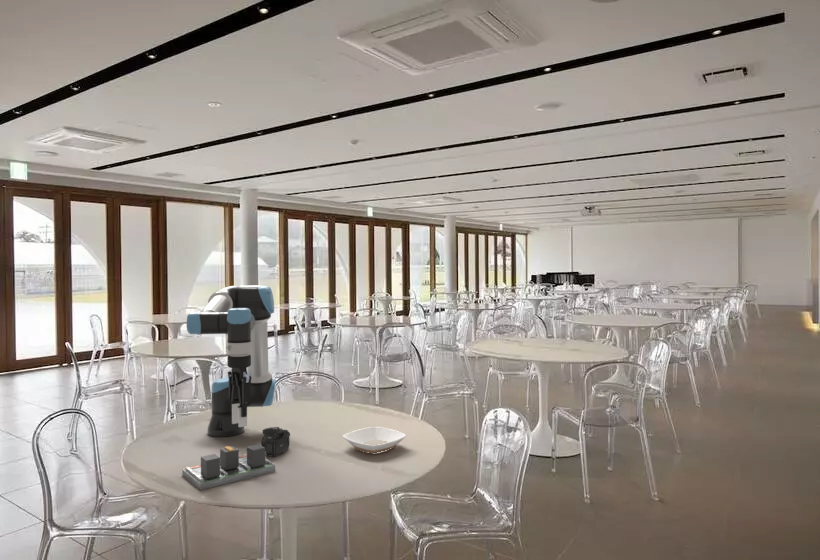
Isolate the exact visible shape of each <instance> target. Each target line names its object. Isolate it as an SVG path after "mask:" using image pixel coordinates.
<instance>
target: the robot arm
mask: <svg viewBox="0 0 820 560" xmlns="http://www.w3.org/2000/svg"><path fill="white" fill-rule="evenodd" d="M274 301H275V300H274V294H273V291H272V288H271V287H270V286H269V285H259V284H258V285H256V284H255V285H229V286H226V287H223V288H221V289H218V290H216V291H214V292H213V293H212V294H211V295H210V296H209V298H208V301H207V304H206V305H205V306H204V307H203V308H202V310H200V312H197V311H196V312H189V313H188V315H187V316H186V317H187V318H186V331H187V333H188V334H190V335H227V345H226V347H225V348H226V349H227V354H228V356H227V359H226V360H227V362H226V364H227V367H228V368H230V369H231V370H230V371H227V376H226V377H221V378H219V379H216V380H214V381H213V382H212V384H211V417H210V419H209V423H208V426H207V435H208V436H210V437H211V436H212V437H215V438H216V437H219V438H223V437H232V436H235V435H240V434H242V433H243V432H245V427H248V408H258V407H259V408H263V407H270V406H271V405H273V403H274V396H275V390H276V383H277V382H276V381H277V380H276V379H275V378H273V375H272V373H270V372H269V344H268V343H269V342H268V341H269V340H268V337H269V336H268V321H269V320H270V319H271V317H272V314H274V313H275V302H274Z"/></svg>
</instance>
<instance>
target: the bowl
mask: <svg viewBox="0 0 820 560" xmlns="http://www.w3.org/2000/svg"><path fill="white" fill-rule="evenodd" d="M406 437H407V434H405V433H404V432H401V431H398V430H396V429H392V428H388V427H383V426H367V427H363V428H360V429H355V430H352V431H349V432H347V433H344V434H343V435H342V438H344V440H345V441H347V442H348V443H349V444H350V445H351V446H353V448H355V450H357V449H358V450H357V451H359V450H361V451H364V452H369V453H377V452H381V451H385V450H388V449H390V448H393V447H394V446H395V447H396V446H398V444H400V442H402V441H403V440H404V439H405V438H406ZM374 439H377V440H382V441H387V443H383V444H378V445H369V444H364V442H367V441H370V440H374ZM395 447H394V448H395ZM394 448H393V449H394ZM361 451H360V452H361ZM364 452H363V453H364Z"/></svg>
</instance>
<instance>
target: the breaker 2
mask: <svg viewBox="0 0 820 560" xmlns="http://www.w3.org/2000/svg"><path fill="white" fill-rule="evenodd" d="M239 456H240V455H239V449H238V448H236V447H235V446H233V445H232V446H231V445H230V446H229V445H227V446H224V447H223V448H219V457H220V466H221V467H222V468H224V469H225V470H229V469H233V468H237V467H239Z"/></svg>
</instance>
